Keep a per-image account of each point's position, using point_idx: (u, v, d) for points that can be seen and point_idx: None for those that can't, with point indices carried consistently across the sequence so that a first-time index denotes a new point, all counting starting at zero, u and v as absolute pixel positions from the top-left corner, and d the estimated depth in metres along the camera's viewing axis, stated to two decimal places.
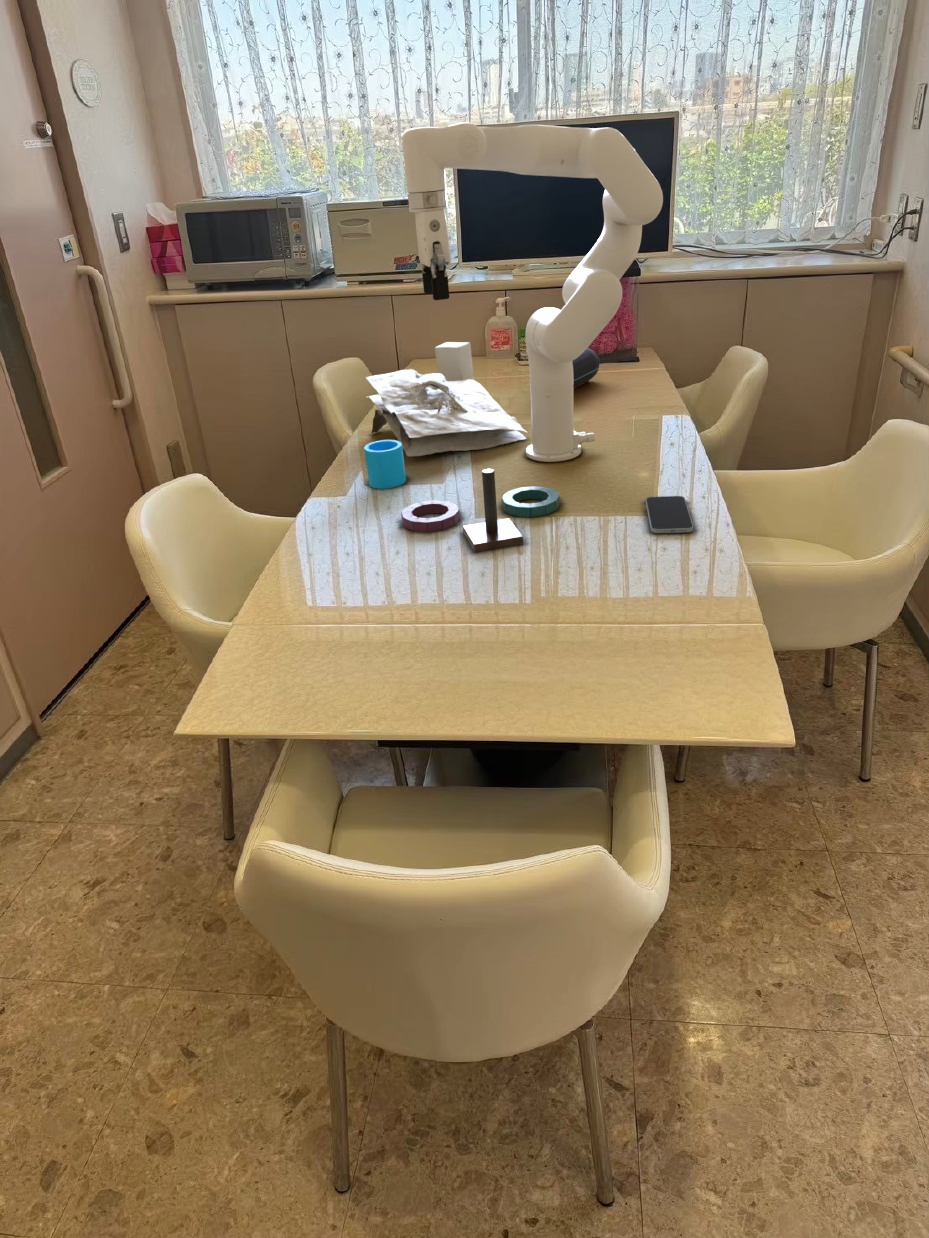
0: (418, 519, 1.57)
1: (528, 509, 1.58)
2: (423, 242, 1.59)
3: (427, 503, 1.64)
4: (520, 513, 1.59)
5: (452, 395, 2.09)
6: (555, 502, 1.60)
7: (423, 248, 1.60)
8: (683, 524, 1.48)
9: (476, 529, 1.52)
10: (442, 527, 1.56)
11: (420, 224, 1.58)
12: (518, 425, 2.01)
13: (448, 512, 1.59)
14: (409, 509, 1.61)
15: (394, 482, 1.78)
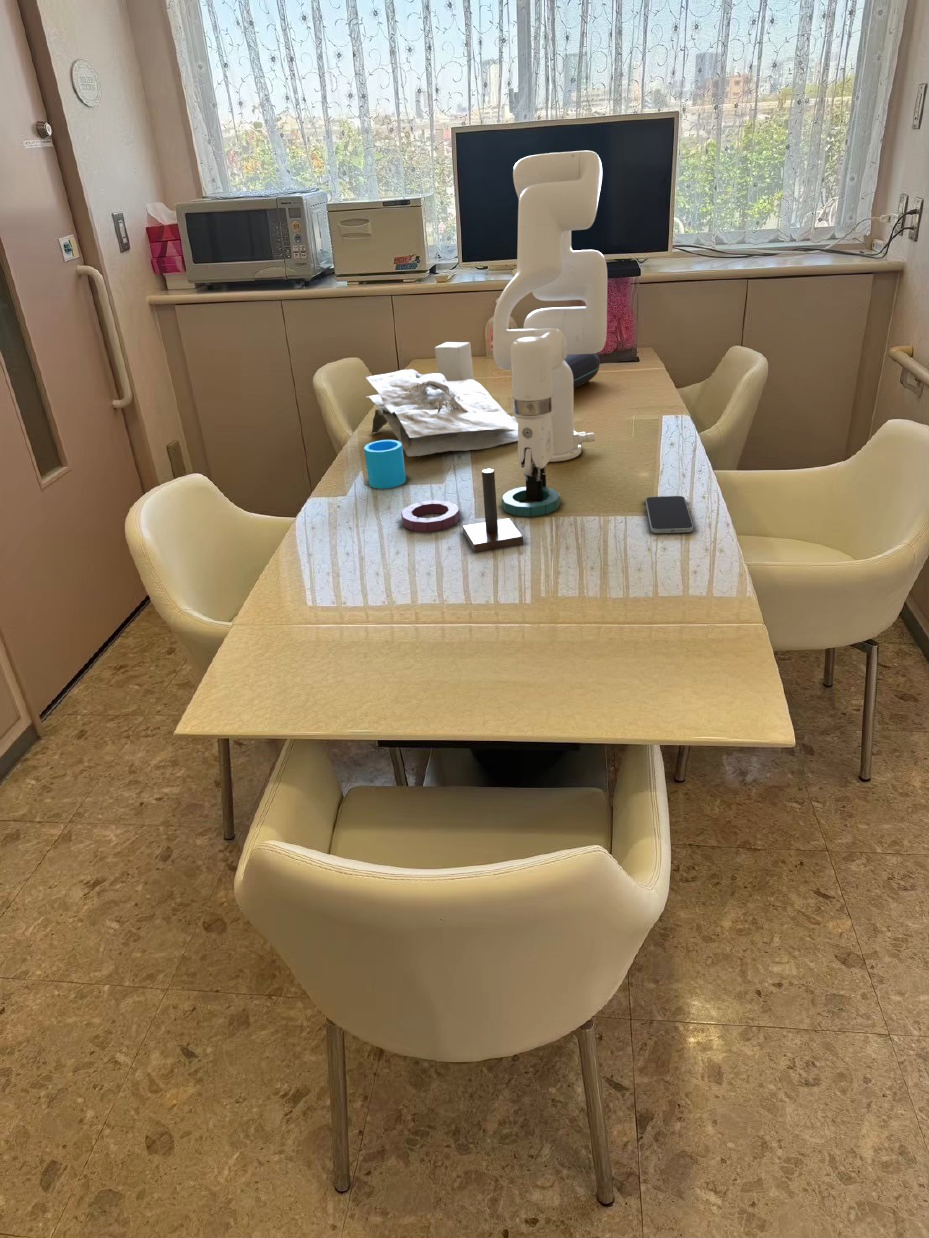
0: (418, 519, 1.57)
1: (528, 509, 1.58)
2: None
3: (427, 503, 1.64)
4: (520, 513, 1.59)
5: None
6: (555, 502, 1.60)
7: None
8: (683, 524, 1.48)
9: (476, 529, 1.52)
10: (442, 527, 1.56)
11: None
12: None
13: (448, 512, 1.59)
14: (409, 509, 1.61)
15: (394, 482, 1.78)
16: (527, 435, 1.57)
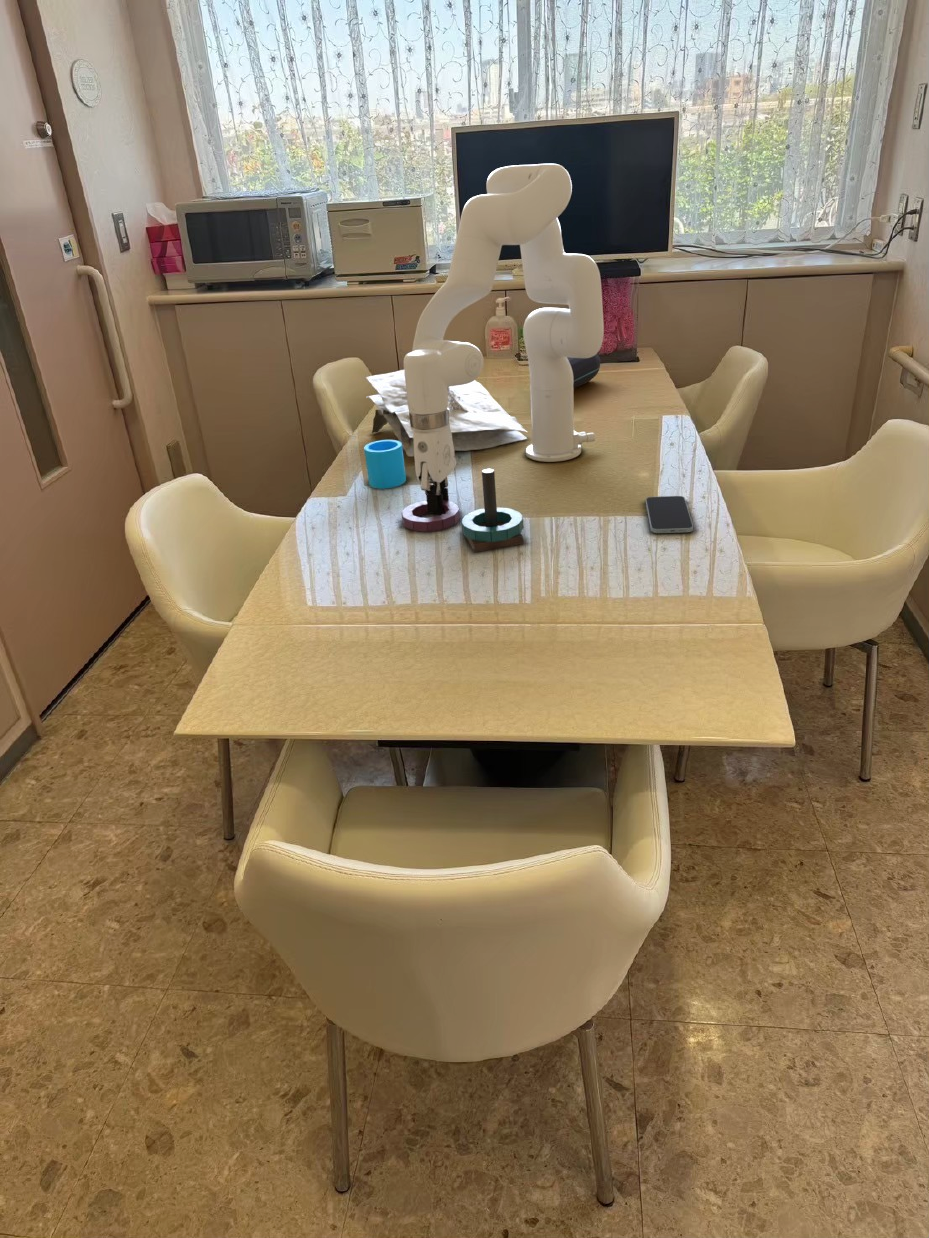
0: (418, 519, 1.57)
1: (488, 533, 1.46)
2: None
3: None
4: (480, 538, 1.47)
5: (452, 395, 2.09)
6: (518, 525, 1.48)
7: None
8: (683, 524, 1.48)
9: None
10: (442, 526, 1.56)
11: None
12: (518, 425, 2.01)
13: (448, 512, 1.59)
14: (409, 509, 1.62)
15: (394, 482, 1.78)
16: (423, 449, 1.55)
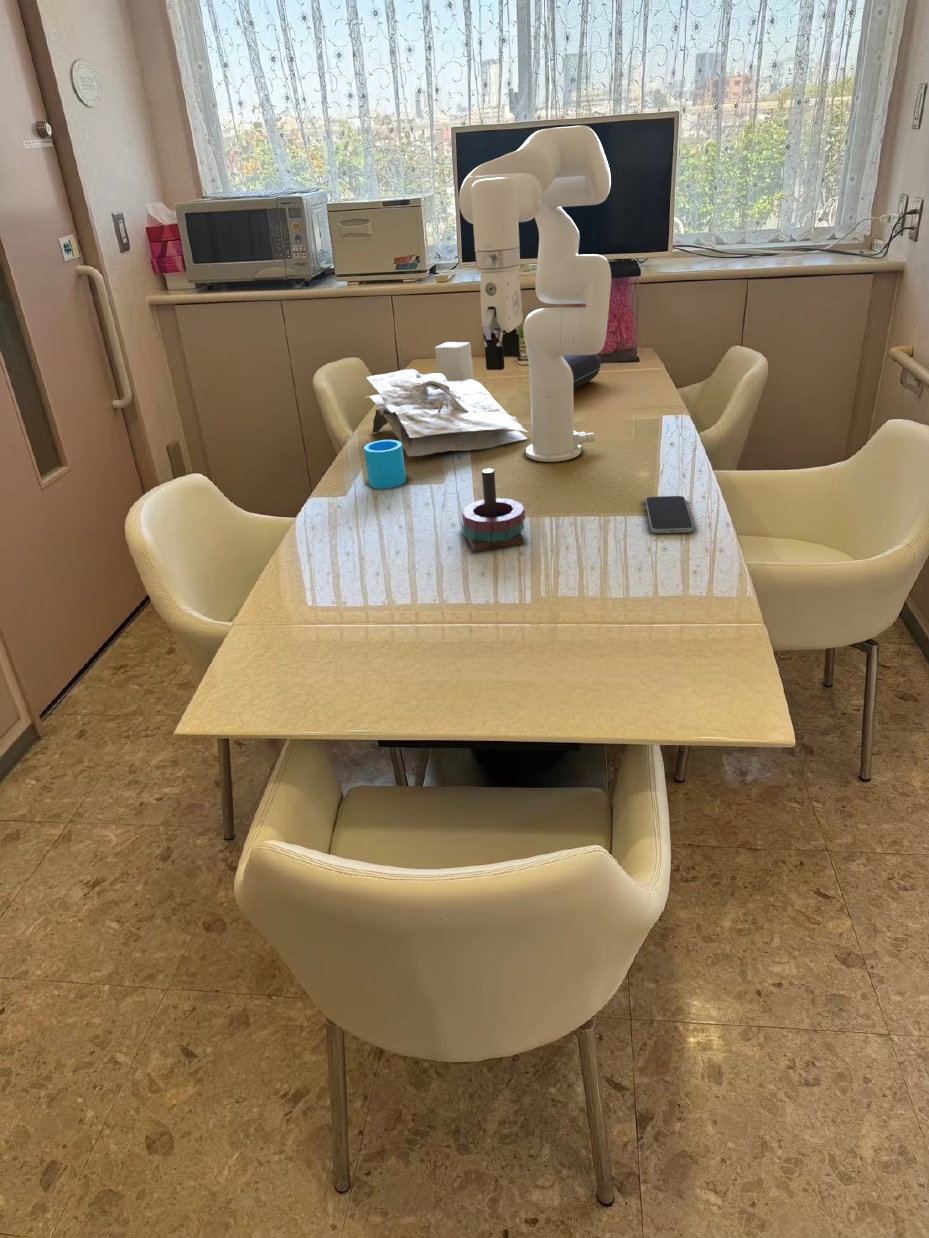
0: (481, 519, 1.46)
1: (488, 533, 1.46)
2: None
3: None
4: (480, 537, 1.47)
5: (453, 395, 2.09)
6: None
7: None
8: (683, 524, 1.48)
9: None
10: (507, 527, 1.45)
11: None
12: (519, 425, 2.01)
13: (513, 511, 1.47)
14: (470, 508, 1.50)
15: (394, 482, 1.78)
16: (491, 293, 1.40)
